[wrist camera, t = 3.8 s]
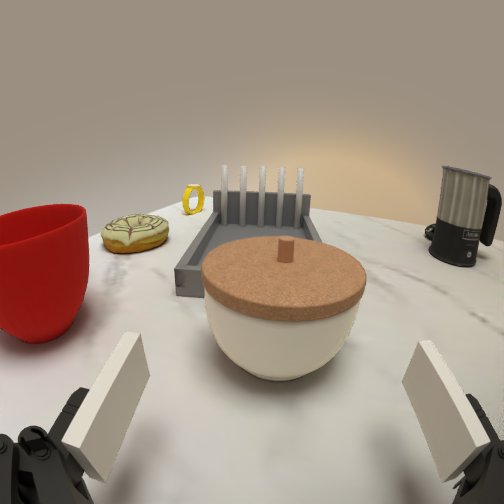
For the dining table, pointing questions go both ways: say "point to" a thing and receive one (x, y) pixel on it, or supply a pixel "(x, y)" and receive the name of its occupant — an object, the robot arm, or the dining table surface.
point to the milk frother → (464, 216)
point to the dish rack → (245, 223)
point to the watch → (187, 195)
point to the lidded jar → (281, 303)
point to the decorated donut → (135, 233)
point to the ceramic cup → (42, 270)
